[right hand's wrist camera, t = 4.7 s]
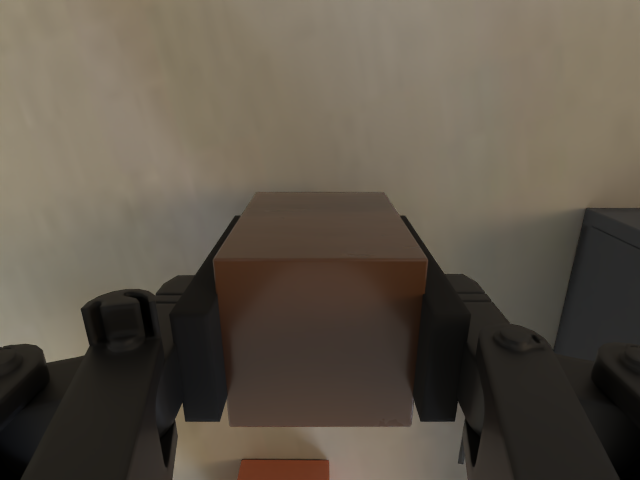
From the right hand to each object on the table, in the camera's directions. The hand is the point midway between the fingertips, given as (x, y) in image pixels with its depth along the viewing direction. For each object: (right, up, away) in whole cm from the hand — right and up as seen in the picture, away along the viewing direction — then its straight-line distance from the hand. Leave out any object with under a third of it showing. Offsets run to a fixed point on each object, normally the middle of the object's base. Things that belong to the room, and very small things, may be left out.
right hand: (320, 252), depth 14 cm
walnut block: (0, 0, 0) cm, 0 cm away
